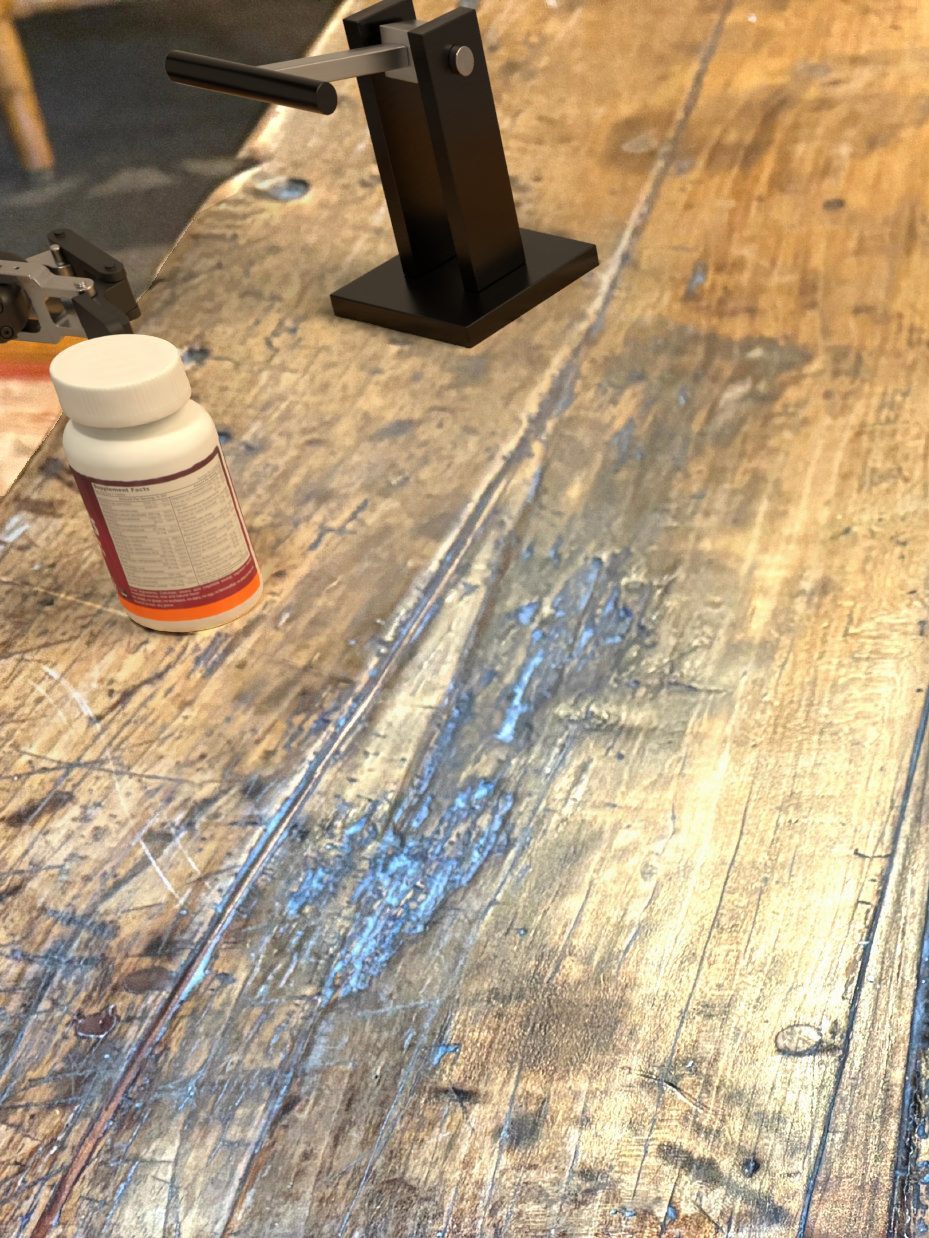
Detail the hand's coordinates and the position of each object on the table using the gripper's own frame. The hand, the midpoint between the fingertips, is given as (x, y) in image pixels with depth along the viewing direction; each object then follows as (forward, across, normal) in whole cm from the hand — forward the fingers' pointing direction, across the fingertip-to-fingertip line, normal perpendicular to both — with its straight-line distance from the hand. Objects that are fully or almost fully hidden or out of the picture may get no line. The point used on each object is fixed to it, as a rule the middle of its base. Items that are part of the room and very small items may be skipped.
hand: (35, 378), depth 101 cm
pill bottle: (+12, 0, +6) cm, 13 cm away
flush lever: (-7, +21, -5) cm, 23 cm away
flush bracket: (-9, +26, +8) cm, 28 cm away
